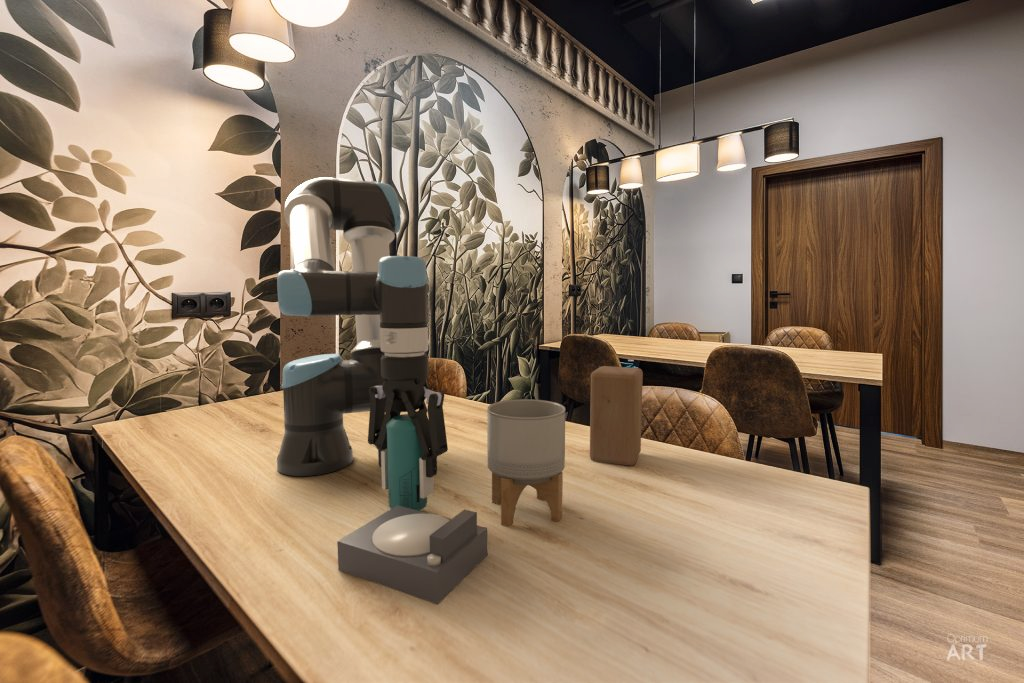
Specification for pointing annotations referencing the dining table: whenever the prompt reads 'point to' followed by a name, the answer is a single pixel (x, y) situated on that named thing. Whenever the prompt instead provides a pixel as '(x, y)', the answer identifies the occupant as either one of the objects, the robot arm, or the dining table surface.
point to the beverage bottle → (403, 461)
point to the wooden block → (616, 414)
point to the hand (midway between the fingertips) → (407, 490)
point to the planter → (526, 453)
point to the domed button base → (415, 551)
